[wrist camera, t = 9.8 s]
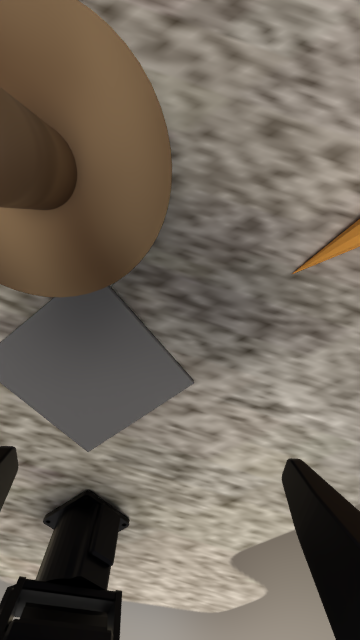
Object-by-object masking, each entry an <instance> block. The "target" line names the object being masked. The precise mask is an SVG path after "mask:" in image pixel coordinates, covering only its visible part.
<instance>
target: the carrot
mask: <svg viewBox="0 0 360 640" xmlns="http://www.w3.org/2000/svg"><path fill="white" fill-rule="evenodd" d="M357 247H360V219H359V220H358V221H356V222H355V223H354V224H353V225H351V226H350V227H349V228H348V229H347V230H345V231H344V232H343V233H342V234H340V235H339V236H338V237H337V238H335V239H334V240H333V241H332V242H331V243H329V244H328V245H327V246H326V247H324V248H323V249H322V250H321V251H319V252H318V253H317V254H316V255H315V256H313V257H312V258H311V259H310V260H308V261H307V262H306V263H305V264H303V265H302V266H301V267H300V268H299V269H297V270H296V271H295V272H294V273H296V272H299V271H301V270H303V269H306V268H308V267H311V266H313V265H316V264H318V263H321V262H323V261H325V260H328V259H330V258H333V257H335V256H338V255H340V254H342V253H345V252H347V251H350V250H352V249H355V248H357ZM294 273H292V274H294Z"/></svg>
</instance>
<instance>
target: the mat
mask: <svg viewBox="0 0 360 640" xmlns="http://www.w3.org/2000/svg"><path fill="white" fill-rule="evenodd" d="M0 383H1V384H3V385H4V386H5V387H6V388H8V389H9V390H10V391H11V392H13V393H14V394H15V395H17V396H18V397H19V398H20V399H22V400H23V401H24V402H25V403H27V404H28V405H29V406H30V407H32V408H33V409H34V410H35V411H37V412H38V413H39V414H41V415H42V416H43V417H44V418H46V419H47V420H48V421H49V422H51V423H52V424H53V425H54V426H56V427H57V428H58V429H59V430H61V431H62V432H63V433H65V434H66V435H67V436H68V437H70V438H71V439H72V440H73V441H75V442H76V443H77V444H78V445H80V446H81V447H82V448H83V449H85V450H86V451H87V452H89V451H91V450H92V449H94V448H95V447H97V446H98V445H100V444H101V443H103V442H104V441H106V440H107V439H109V438H111V437H112V436H114V435H115V434H117V433H118V432H120V431H121V430H123V429H124V428H126V427H127V426H129V425H131V424H132V423H134V422H135V421H137V420H138V419H140V418H141V417H143V416H144V415H146V414H147V413H149V412H151V411H152V410H154V409H155V408H157V407H158V406H160V405H161V404H163V403H164V402H166V401H167V400H169V399H170V398H172V397H174V396H175V395H177V394H178V393H180V392H181V391H183V390H184V389H186V388H187V387H189V386H190V385H192V384H194V380H193V379H192V378H191V377H190V376H189V375H188V374H187V373H186V371H185V370H184V369H183V368H182V367H181V366H180V365H179V364H178V362H177V361H176V360H175V359H174V358H173V357H172V356H171V355H170V353H169V352H168V351H167V350H166V349H165V348H164V347H163V346H162V344H161V343H160V342H159V341H158V340H157V339H156V338H155V337H154V335H153V334H152V333H151V332H150V331H149V330H148V329H147V328H146V327H145V325H144V324H143V323H142V322H141V321H140V320H139V319H138V318H137V316H136V315H135V314H134V313H133V312H132V311H131V310H130V309H129V307H128V306H127V305H126V304H125V303H124V302H123V301H122V300H121V298H120V297H119V296H118V295H117V294H116V293H115V292H114V291H113V289H112V288H111V287H110V286H107V287H105V288H103V289H100V290H98V291H95V292H92V293H89V294H84V295H79V296H73V297H54V298H53V299H52V300H51V301H49V302H48V303H47V304H46V305H45V306H44V307H42V308H41V309H40V310H39V311H38V312H36V313H35V314H34V315H33V316H32V317H30V318H29V319H28V320H27V321H26V322H24V323H23V324H22V325H21V326H20V327H18V328H17V329H16V330H15V331H14V332H12V333H11V334H10V335H9V336H8V337H6V338H5V339H4V340H3V341H2V342H1V343H0Z"/></svg>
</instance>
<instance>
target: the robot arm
mask: <svg viewBox="0 0 360 640" xmlns="http://www.w3.org/2000/svg"><path fill="white" fill-rule="evenodd" d="M17 471H18V459H17V452H16V448H15V447H13V446H1V447H0V511H1V509H2V506H3V504H4V502H5V499H6V497H7V495H8V492H9V490H10V488H11V485H12V483H13V481H14V479H15V476H16V474H17ZM282 483H283V487H284V491H285V494H286V498H287V501H288V505H289V509H290V512H291V516H292V519H293V523H294V526H295V530H296V533H297V536H298V539H299V542H300V544H301V547H302V550H303V553H304V555H305V558H306V561H307V563H308V566H309V568H310V571H311V574H312V577H313V579H314V582H315V585H316V587H317V590H318V592H319V595H320V598H321V601H322V603H323V606H324V609H325V612H326V614H327V617H328V619H329V622H330V625H331V628H332V630H333V633H334V636H335V638H336V640H360V511H359V510H357V509H356V508H355V507H354V506H353V505H352V504H351V503H350V502H348V501H347V500H346V499H345V498H344V497H343V496H342V495H341V494H339V493H338V492H337V491H336V490H335V489H334V488H333V487H332V486H330V485H329V484H328V483H327V482H326V481H325V480H324V479H323V478H321V477H320V476H319V475H318V474H317V473H316V472H315V471H314V470H312V469H311V468H310V467H309V466H308V465H307V464H306V463H305V462H303V461H302V460H301V459H293V458H290V459H288V460H287V462H286V465H285V468H284V471H283V474H282ZM43 522H44V524H46V525H47V526H49V527H51V528H52V529H54V531H53V534H52V536H51V539H50V542H49V545H48V547H47V550H46V553H45V555H44V558H43V561H42V564H41V566H40V569H39V572H38V575H37V577H36V580H31V579H26V577H21V576H20V577H19V579H18V581H17V584H15V585H13V586H10V587H8V588H7V590H6V592H5V594H4V596H3V598H2V601H1V603H0V640H119V638H120V620H121V602H122V591H119V590H116V591H108V590H107V587H108V581H109V575H110V569H111V566H112V565H113V563H114V557H115V550H116V544H117V538H118V532H119V531H121V530H123V529H125V528H126V527H128V526H129V519H128V518H127V517H125V516H124V515H122V514H121V513H120V512H118V511H117V510H116V509H114V508H113V507H111V506H110V505H109V504H107V503H106V502H105V501H103V500H102V499H100V498H99V497H98V496H96V495H95V494H94V493H92V492H90V491H85V492H83V493H82V494H80V495H79V496H77V497H75V498H74V499H72V500H70V501H69V502H67V503H65V504H64V505H62V506H61V507H59V508H57V509H56V510H54V511H52V512H51V513H49V514H47V515H46V516H45V518H44V520H43ZM13 617H20V619H14V620H13ZM12 620H13V621H12Z"/></svg>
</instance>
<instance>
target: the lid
mask: <svg viewBox="0 0 360 640" xmlns="http://www.w3.org/2000/svg"><path fill="white" fill-rule="evenodd" d="M171 178H172V162H171V148H170V142H169V137H168V131H167V126H166V123H165V120H164V116H163V113H162V109H161V106H160V104H159V101H158V99H157V96H156V94H155V92H154V89H153V87H152V85H151V83H150V81H149V79H148V77H147V75H146V74H145V72H144V70H143V68H142V66H141V65H140V63H139V62H138V60H137V59H136V57H135V56H134V55H133V53H132V52H131V50H130V49H129V48H128V46H127V45H126V43H125V42H124V41H123V40H122V39H121V38H120V37H119V36H118V34H117V33H116V32H115V31H114V30H113V29H112V28H111V27H110V26H109V25H108V24H107V23H106V22H105V21H104V20H103V19H101V18H100V17H99V16H98V15H97V14H96V13H95V12H93V11H92V10H91V9H90V8H88V7H87V6H85V5H84V4H82V3H81V2H79V1H78V0H0V284H2V285H4V286H7V287H9V288H11V289H14V290H17V291H21V292H24V293H28V294H32V295H38V296H44V297H73V296H79V295H84V294H89V293H92V292H95V291H98V290H100V289H103V288H105V287H107V286H109V285H111V284H113V283H115V282H117V281H118V280H119V279H121V278H122V277H124V276H125V275H127V274H128V273H129V272H130V271H131V270H132V269H133V268H134V267H135V266H136V265H137V264H139V262H140V261H141V260H142V259H143V257H144V256H145V255H146V254H147V252H148V251H149V249H150V248H151V246H152V245H153V243H154V241H155V240H156V238H157V236H158V234H159V231H160V229H161V227H162V225H163V222H164V219H165V216H166V212H167V209H168V204H169V198H170V192H171Z"/></svg>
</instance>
